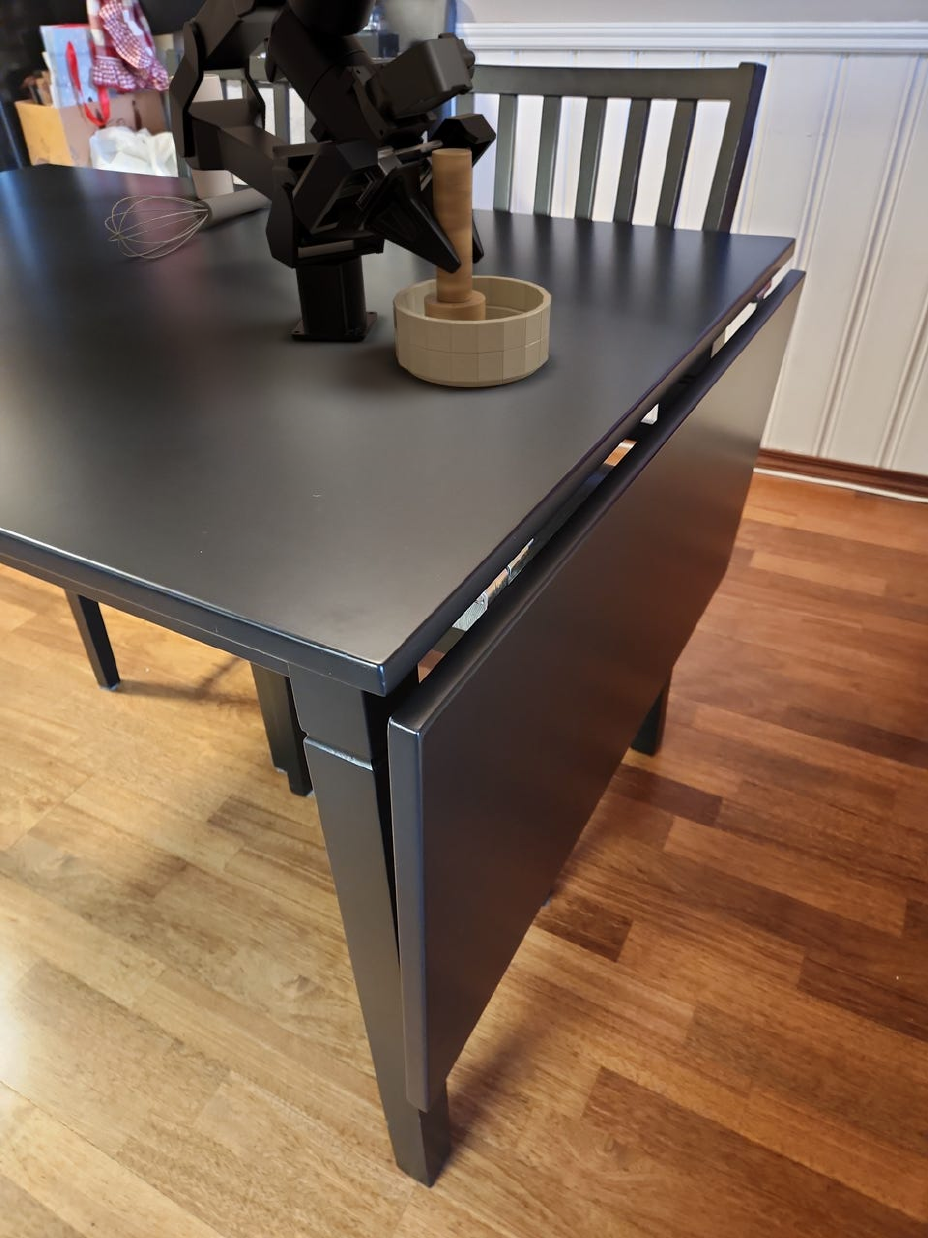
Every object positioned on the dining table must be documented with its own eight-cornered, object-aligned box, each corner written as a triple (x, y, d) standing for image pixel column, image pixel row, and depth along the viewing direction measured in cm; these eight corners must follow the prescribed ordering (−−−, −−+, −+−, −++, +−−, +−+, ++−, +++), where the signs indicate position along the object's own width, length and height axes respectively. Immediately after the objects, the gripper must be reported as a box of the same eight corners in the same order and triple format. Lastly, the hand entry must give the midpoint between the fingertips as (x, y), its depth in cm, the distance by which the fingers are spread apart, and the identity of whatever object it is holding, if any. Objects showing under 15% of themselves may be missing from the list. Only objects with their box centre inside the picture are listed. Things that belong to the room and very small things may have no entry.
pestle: (429, 360, 64) (420, 158, 56) (423, 340, 68) (414, 147, 60) (489, 357, 65) (490, 155, 56) (480, 336, 69) (480, 144, 60)
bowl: (545, 392, 62) (548, 324, 58) (385, 388, 63) (379, 321, 60) (549, 336, 71) (552, 276, 68) (410, 334, 72) (407, 274, 69)
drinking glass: (183, 201, 119) (157, 77, 110) (207, 192, 124) (185, 73, 115) (224, 204, 117) (202, 78, 108) (248, 194, 122) (228, 73, 113)
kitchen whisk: (289, 205, 116) (282, 154, 112) (149, 271, 91) (134, 208, 87) (250, 203, 117) (242, 152, 113) (102, 267, 92) (85, 205, 88)
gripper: (300, -14, 48) (462, 214, 50) (474, -17, 60) (598, 166, 62) (230, 134, 56) (371, 324, 58) (395, 104, 68) (507, 262, 70)
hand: (468, 264), depth 62 cm, fingers closed on pestle, 3 cm apart
